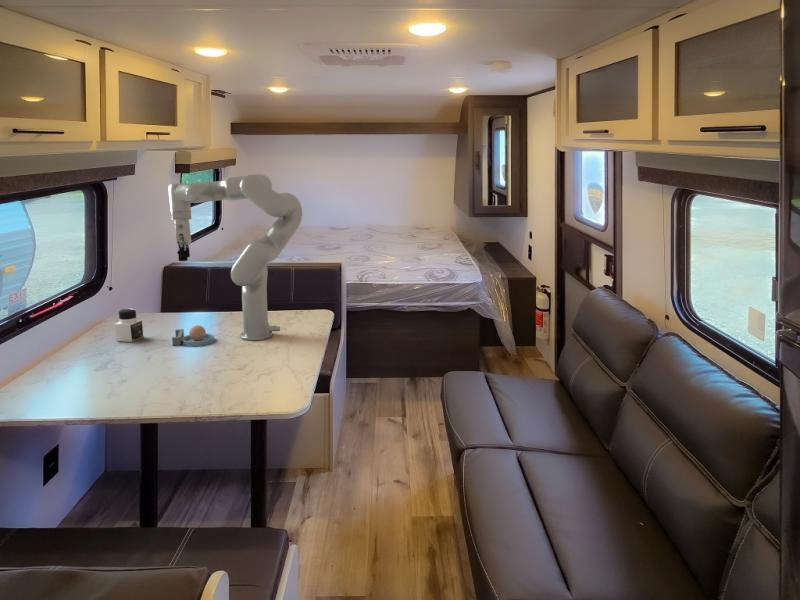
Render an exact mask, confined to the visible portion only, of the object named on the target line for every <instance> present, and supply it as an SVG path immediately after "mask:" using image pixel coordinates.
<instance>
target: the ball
mask: <svg viewBox="0 0 800 600" xmlns="http://www.w3.org/2000/svg"><path fill="white" fill-rule="evenodd" d="M205 334H207V333H206V329H205V328H204V327H203V326H202V325H194V326H192V327H190V329H189V331H188V335H190V337H191V339H193V340H195V341H200V340H202V339H203V338H204V337H205Z"/></svg>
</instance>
